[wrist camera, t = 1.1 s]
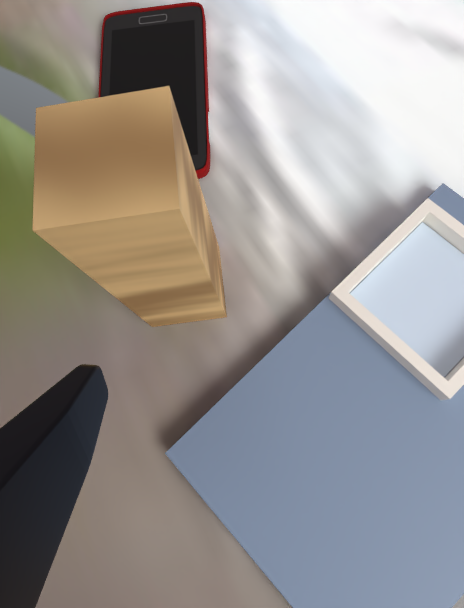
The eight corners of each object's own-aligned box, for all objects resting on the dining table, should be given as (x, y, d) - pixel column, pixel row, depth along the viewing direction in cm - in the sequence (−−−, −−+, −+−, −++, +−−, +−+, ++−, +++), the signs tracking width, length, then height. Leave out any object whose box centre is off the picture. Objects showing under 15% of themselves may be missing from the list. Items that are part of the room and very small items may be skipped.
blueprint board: (366, 688, 19) (377, 720, 17) (169, 452, 23) (159, 454, 21) (653, 355, 22) (693, 348, 20) (436, 192, 26) (451, 171, 24)
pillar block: (226, 317, 25) (179, 208, 12) (152, 326, 25) (32, 230, 13) (219, 247, 26) (169, 85, 14) (148, 257, 26) (36, 107, 14)
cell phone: (205, 11, 32) (203, -1, 31) (212, 181, 28) (209, 172, 27) (107, 24, 33) (102, 12, 32) (98, 191, 29) (92, 184, 28)
